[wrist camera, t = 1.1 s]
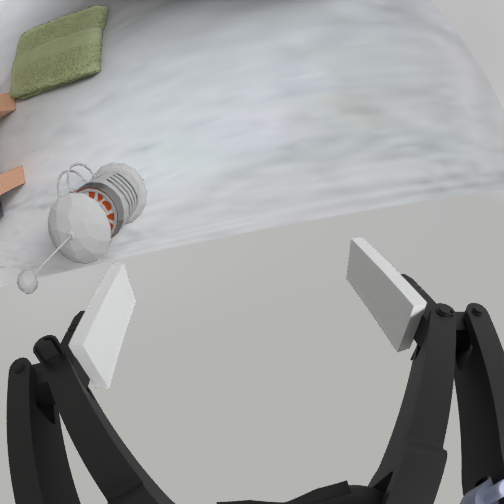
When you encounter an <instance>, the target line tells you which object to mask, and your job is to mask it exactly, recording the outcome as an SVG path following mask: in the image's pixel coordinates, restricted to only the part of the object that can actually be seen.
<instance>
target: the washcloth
mask: <svg viewBox="0 0 504 504" xmlns="http://www.w3.org/2000/svg"><path fill="white" fill-rule="evenodd" d="M107 14H108V7H105V6H99V5H94V6H93V7H88V8H87V9H84V10H81V11H78V12H77V11H76V12H74V13H72V14H69V15H65V16H63V17H61V18H57V19H55V20H53V21H51V22H48V23H46V24H42V25H39V26H36V27H34V28H33V29H31V30H29V31H27V32H25V33H24V34H22V36H21V37H20V40H19V44H18V49H17V54H16V58H15V61H14V64H13V68H12V74H13V79H12V85H11V89H10V97H13V98H14V99H15V98H18V97H19V99H20V100H21V99H22V100H23V99H26V98H29V97H31V96H33V95H37V94H39V93H42V92H44V91H45V90H50V89H52V88H56V87H58V86H62V85H64V84H65V83H71V82H73V81H76V80H79V79H81V78H84V77H86V76H91V75H93V74H95V73H98V72H99V71H100V68H101V67H100V64H101V57H100V56H101V50H102V44H101V39H102V30H103V29H104V27H105V20H106V17H107Z"/></svg>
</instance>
